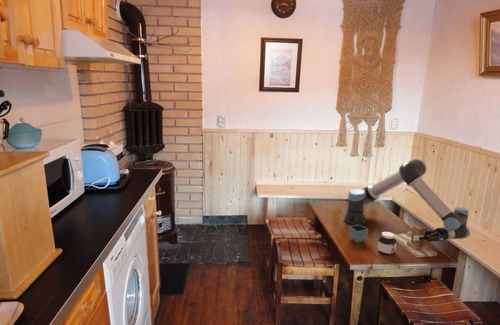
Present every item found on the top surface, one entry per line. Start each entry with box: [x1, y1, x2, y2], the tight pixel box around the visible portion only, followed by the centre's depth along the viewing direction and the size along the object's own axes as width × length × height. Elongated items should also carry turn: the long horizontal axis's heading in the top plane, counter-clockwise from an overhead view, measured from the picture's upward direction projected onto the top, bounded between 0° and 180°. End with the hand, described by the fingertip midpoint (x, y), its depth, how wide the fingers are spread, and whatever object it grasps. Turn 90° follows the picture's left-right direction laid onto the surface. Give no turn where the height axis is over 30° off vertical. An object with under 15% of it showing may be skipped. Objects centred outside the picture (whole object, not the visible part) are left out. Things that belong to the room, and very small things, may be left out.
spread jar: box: [377, 231, 398, 256], centre depth 200 cm, size 12×11×12 cm
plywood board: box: [393, 232, 438, 258], centre depth 207 cm, size 13×28×2 cm, turn 11°
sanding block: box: [407, 224, 429, 250], centre depth 201 cm, size 9×7×13 cm
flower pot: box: [348, 225, 369, 244], centre depth 212 cm, size 9×9×9 cm
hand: (410, 236), depth 200 cm, fingers closed on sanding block, 5 cm apart
